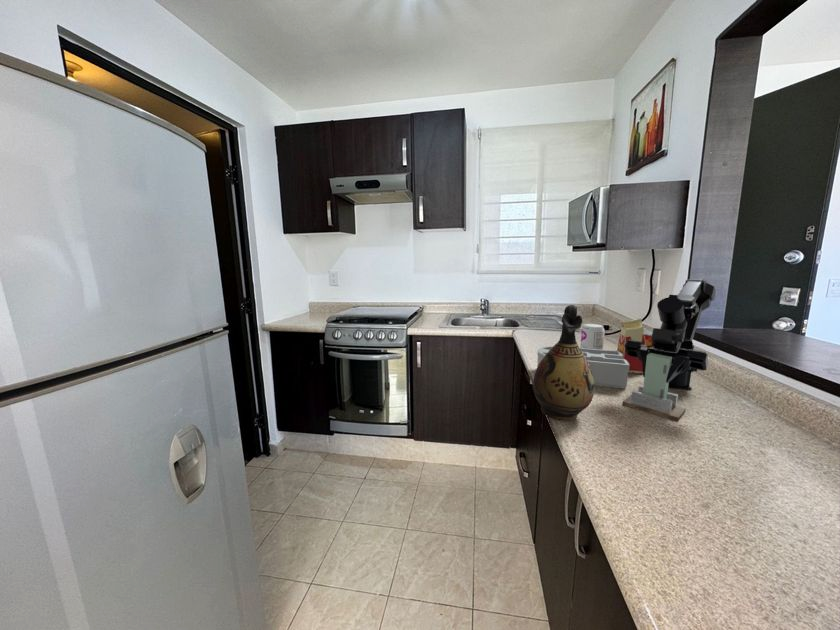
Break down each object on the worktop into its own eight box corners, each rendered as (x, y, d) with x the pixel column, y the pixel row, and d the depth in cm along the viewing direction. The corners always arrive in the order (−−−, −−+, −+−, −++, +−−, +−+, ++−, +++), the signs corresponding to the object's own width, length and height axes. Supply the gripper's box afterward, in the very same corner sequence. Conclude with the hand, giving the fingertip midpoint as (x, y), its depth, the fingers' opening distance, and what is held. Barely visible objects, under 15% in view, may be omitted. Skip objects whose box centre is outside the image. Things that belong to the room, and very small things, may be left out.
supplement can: (580, 362, 131) (583, 326, 129) (578, 356, 139) (581, 322, 136) (603, 364, 128) (606, 328, 126) (600, 358, 136) (603, 324, 133)
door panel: (645, 395, 94) (650, 352, 92) (666, 401, 90) (672, 356, 88) (641, 398, 92) (646, 355, 90) (663, 404, 88) (668, 359, 86)
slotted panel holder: (622, 404, 94) (623, 390, 93) (631, 396, 99) (633, 383, 98) (677, 421, 84) (680, 405, 83) (685, 411, 89) (687, 396, 88)
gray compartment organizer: (627, 390, 104) (629, 365, 103) (535, 379, 114) (536, 356, 113) (617, 373, 119) (619, 351, 118) (537, 365, 130) (538, 344, 128)
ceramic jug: (596, 431, 80) (607, 312, 75) (530, 421, 85) (536, 309, 80) (587, 402, 96) (595, 302, 90) (532, 395, 101) (537, 300, 96)
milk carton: (638, 366, 126) (644, 316, 123) (646, 374, 118) (652, 320, 114) (612, 364, 129) (617, 315, 126) (618, 371, 120) (623, 319, 117)
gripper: (629, 313, 97) (612, 356, 91) (712, 322, 82) (697, 373, 77) (635, 334, 103) (619, 375, 98) (713, 346, 89) (699, 394, 84)
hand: (655, 379), depth 89 cm, fingers closed on door panel, 5 cm apart
